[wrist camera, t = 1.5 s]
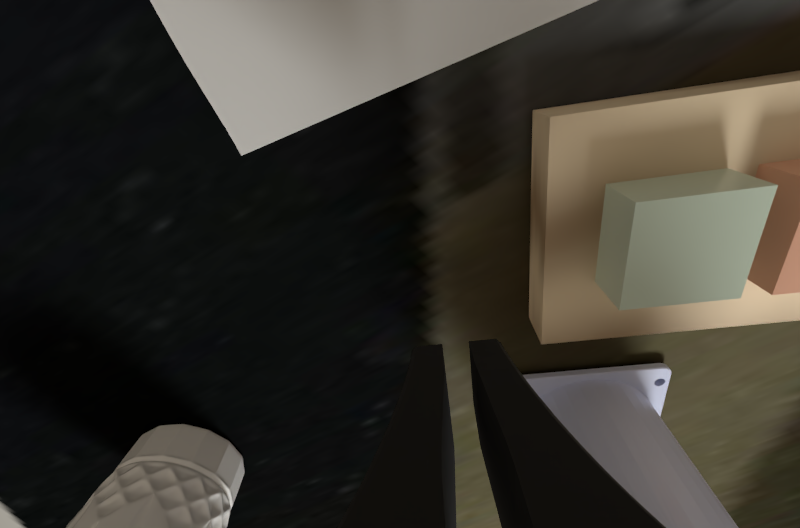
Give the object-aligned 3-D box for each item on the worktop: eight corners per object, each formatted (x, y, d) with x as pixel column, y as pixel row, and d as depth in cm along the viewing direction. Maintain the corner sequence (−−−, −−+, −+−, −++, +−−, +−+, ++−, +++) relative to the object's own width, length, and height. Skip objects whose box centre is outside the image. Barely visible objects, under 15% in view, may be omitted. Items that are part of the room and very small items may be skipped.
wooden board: (818, 288, 17) (865, 313, 15) (528, 317, 18) (541, 344, 17) (922, 52, 13) (1004, 50, 11) (532, 110, 14) (550, 117, 12)
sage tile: (701, 269, 15) (740, 298, 13) (594, 281, 15) (619, 310, 13) (727, 168, 13) (778, 185, 11) (605, 183, 13) (635, 202, 11)
